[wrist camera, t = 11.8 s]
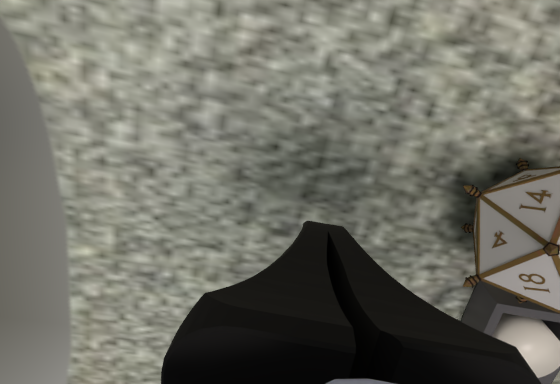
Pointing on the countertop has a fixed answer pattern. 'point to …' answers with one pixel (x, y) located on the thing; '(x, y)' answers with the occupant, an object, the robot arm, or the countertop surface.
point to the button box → (495, 302)
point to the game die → (519, 235)
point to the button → (531, 342)
